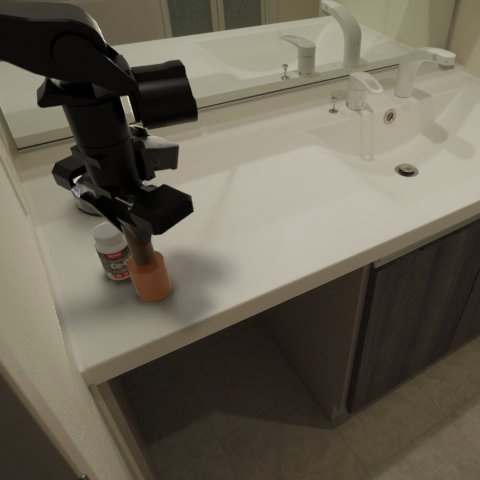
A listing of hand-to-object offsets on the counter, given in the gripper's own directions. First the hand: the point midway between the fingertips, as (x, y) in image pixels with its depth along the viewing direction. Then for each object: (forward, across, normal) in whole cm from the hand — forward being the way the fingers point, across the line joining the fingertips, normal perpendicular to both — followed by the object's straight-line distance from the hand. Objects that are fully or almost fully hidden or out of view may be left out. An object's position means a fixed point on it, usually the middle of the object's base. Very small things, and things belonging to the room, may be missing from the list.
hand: (138, 239), depth 57 cm
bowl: (+10, +25, -12) cm, 29 cm away
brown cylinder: (0, 0, 0) cm, 0 cm away
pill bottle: (+10, +7, 0) cm, 13 cm away
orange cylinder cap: (+10, 0, 0) cm, 10 cm away
